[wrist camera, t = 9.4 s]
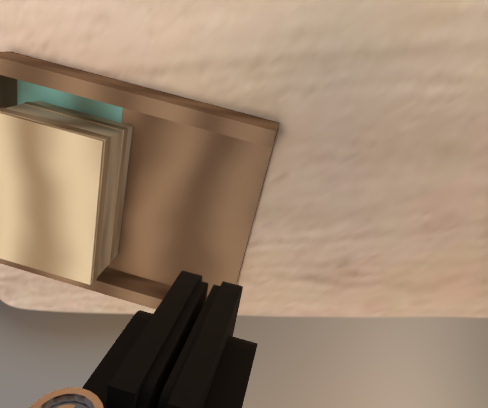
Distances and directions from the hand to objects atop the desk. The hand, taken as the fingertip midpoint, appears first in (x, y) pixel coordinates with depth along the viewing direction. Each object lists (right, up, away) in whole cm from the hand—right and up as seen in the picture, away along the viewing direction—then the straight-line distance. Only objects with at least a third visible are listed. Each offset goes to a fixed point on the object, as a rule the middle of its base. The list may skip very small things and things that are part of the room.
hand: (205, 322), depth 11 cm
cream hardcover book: (-13, +5, +24) cm, 27 cm away
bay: (-9, +4, +24) cm, 26 cm away
